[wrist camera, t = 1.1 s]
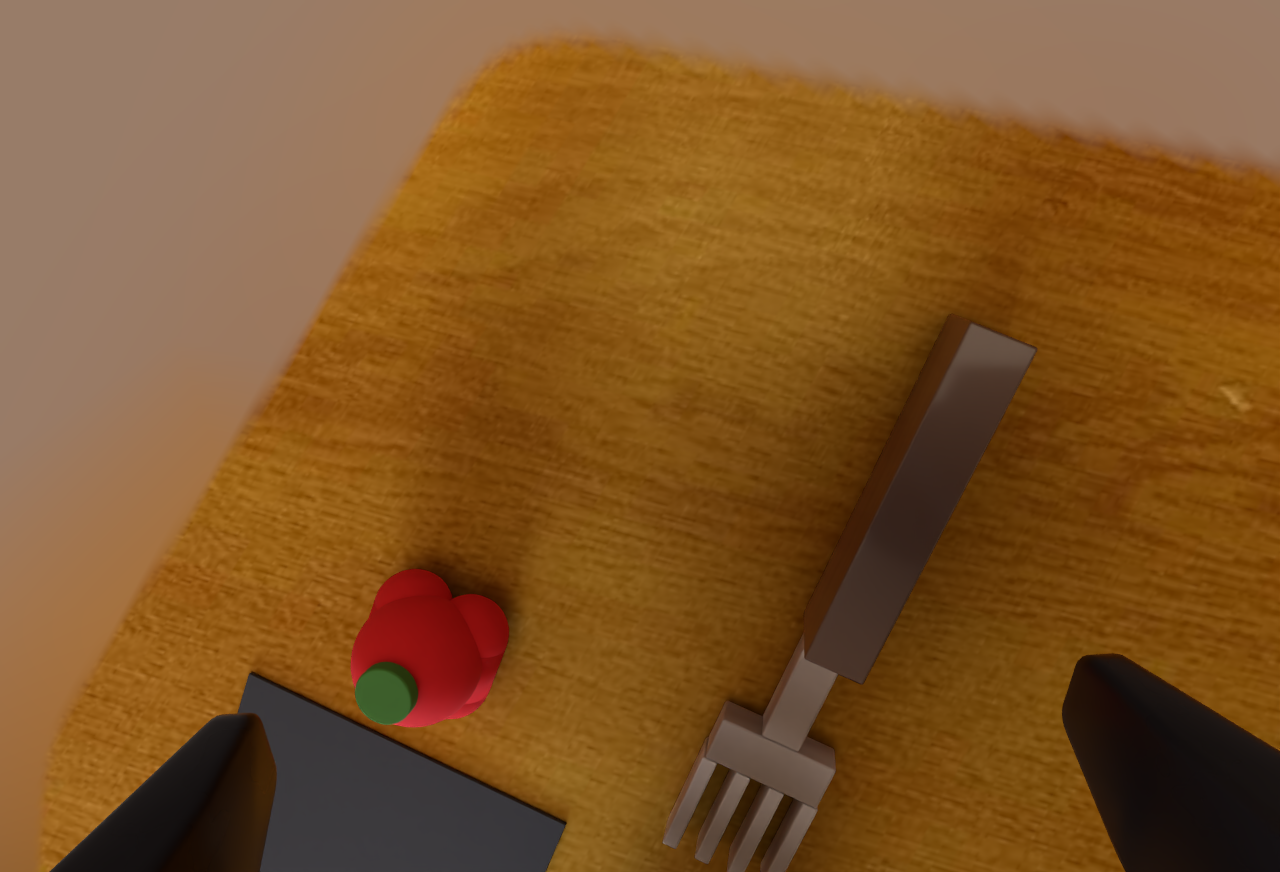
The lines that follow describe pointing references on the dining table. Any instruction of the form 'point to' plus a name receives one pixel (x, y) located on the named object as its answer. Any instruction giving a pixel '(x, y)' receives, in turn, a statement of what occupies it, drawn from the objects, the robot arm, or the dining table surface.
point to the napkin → (382, 801)
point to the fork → (857, 596)
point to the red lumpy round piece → (426, 652)
